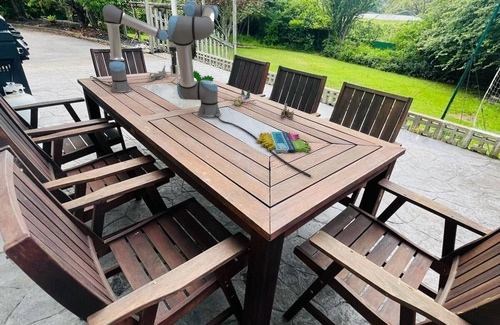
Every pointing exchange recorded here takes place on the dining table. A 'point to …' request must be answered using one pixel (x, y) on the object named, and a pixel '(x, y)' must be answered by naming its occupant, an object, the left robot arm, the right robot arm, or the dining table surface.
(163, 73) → the airplane
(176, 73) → the block
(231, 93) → the dining table surface
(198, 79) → the ornament
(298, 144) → the sign
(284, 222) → the dining table surface
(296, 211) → the dining table surface
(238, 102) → the toy
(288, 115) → the jawbone
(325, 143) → the dining table surface
